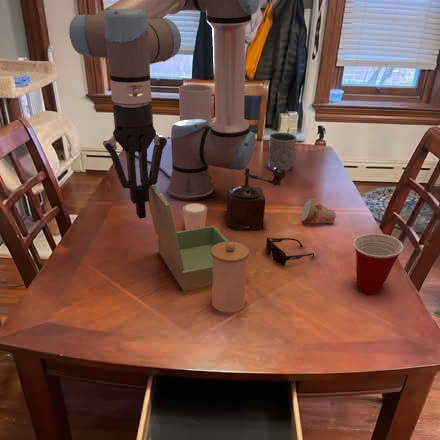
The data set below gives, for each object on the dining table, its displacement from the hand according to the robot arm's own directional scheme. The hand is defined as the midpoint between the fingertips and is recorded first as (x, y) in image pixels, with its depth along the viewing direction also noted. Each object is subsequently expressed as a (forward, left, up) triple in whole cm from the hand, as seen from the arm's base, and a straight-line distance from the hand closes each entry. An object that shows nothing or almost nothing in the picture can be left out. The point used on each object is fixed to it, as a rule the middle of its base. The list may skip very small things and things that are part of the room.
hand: (141, 215), depth 102 cm
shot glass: (-11, +26, -17) cm, 33 cm away
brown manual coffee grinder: (-3, +42, -17) cm, 45 cm away
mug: (+10, +57, -17) cm, 60 cm away
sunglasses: (+17, +34, -17) cm, 41 cm away
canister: (+21, +6, -16) cm, 28 cm away
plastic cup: (+39, +36, -17) cm, 56 cm away
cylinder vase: (-63, +74, -17) cm, 98 cm away
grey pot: (-28, +86, -17) cm, 92 cm away
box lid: (+2, +5, -2) cm, 5 cm away
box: (+5, +13, -16) cm, 22 cm away
